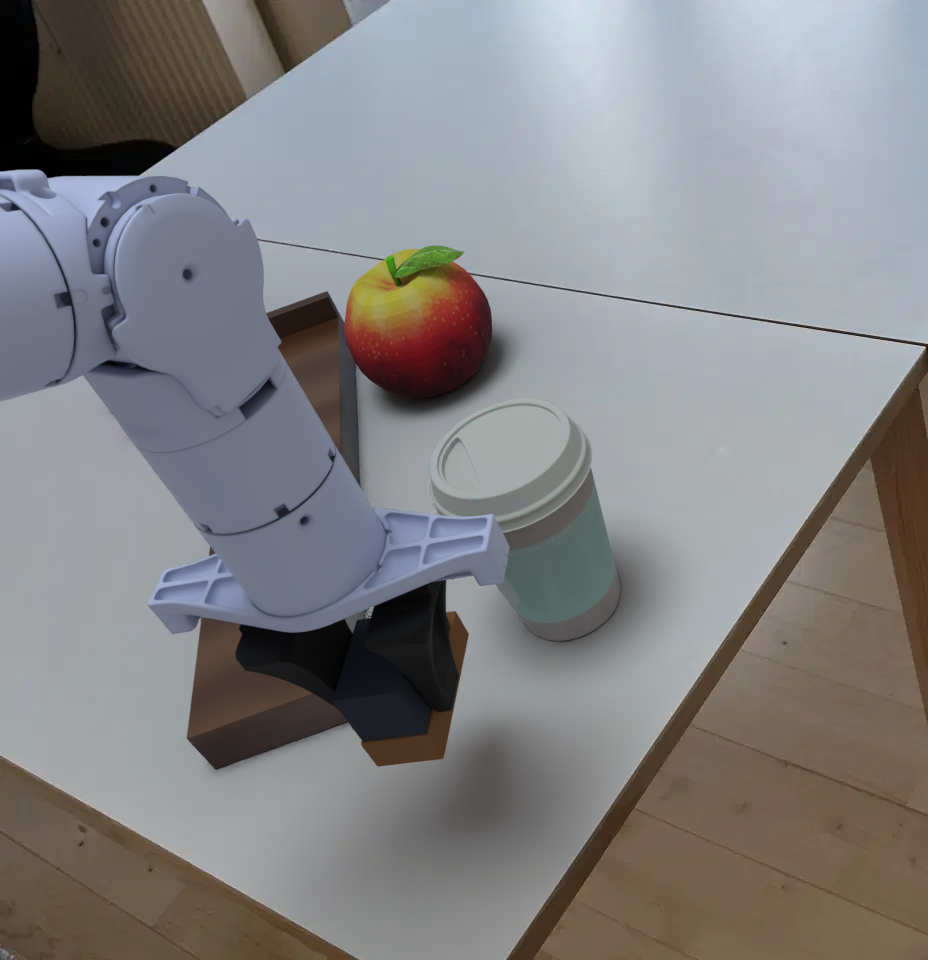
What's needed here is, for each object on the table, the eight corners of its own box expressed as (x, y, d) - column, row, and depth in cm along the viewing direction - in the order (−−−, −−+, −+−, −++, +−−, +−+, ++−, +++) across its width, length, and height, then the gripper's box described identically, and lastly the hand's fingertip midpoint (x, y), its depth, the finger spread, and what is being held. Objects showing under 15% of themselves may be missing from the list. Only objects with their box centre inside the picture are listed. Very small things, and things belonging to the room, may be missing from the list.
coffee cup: (523, 548, 67) (449, 397, 59) (656, 543, 64) (598, 384, 57) (481, 662, 61) (394, 511, 53) (627, 661, 58) (556, 502, 51)
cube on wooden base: (444, 759, 48) (399, 694, 45) (377, 767, 49) (328, 703, 46) (469, 633, 53) (431, 567, 50) (408, 642, 54) (367, 577, 51)
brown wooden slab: (369, 714, 61) (328, 658, 57) (214, 769, 61) (165, 717, 57) (354, 340, 91) (327, 290, 88) (251, 377, 91) (221, 328, 88)
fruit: (390, 345, 89) (336, 238, 82) (517, 318, 87) (472, 207, 80) (361, 431, 81) (299, 320, 75) (500, 404, 79) (448, 288, 72)
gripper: (464, 376, 42) (572, 606, 51) (132, 441, 45) (287, 648, 54) (431, 505, 37) (557, 737, 45) (57, 569, 40) (243, 775, 48)
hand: (409, 698), depth 49 cm, fingers closed on cube on wooden base, 3 cm apart
